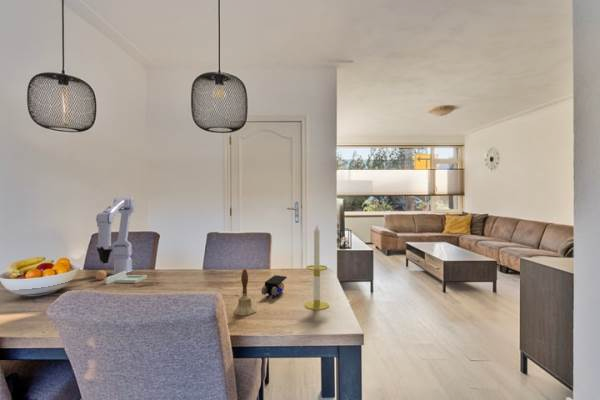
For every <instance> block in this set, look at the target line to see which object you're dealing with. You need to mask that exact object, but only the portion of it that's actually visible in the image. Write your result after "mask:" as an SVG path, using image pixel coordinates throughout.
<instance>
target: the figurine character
mask: <svg viewBox="0 0 600 400" xmlns="http://www.w3.org/2000/svg"><path fill="white" fill-rule="evenodd" d="M286 279H287V276H284V275H272V276H271V277H270V278H269V279H267V280H266V281H265V282H264V286H262V288H261V295H263V296H264V295H267V296H266V297H265V299H269V298H270V297H271V298H272V300H274V299H275V298H276V297H277V296H278V295H279V294H281V293H283V291H284V290H285V284H284V283H283V282H284V281H285V280H286Z"/></svg>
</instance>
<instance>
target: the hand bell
mask: <svg viewBox="0 0 600 400" xmlns="http://www.w3.org/2000/svg"><path fill="white" fill-rule="evenodd" d="M240 278H241V284H242V285H241V286H242V295H241V296H240V297H239V298H238V302H237V307H236V308H235V309H234V310H233V314H234V315H236V316H244V317H245V316H251V315H253V314H255V313H256V312H257V310H256V308H255V307H254V306H253V304H252V298H251V296H249V295H248V282H249V275H248V271H247V269H245V268H244V269H242V273H241V277H240Z"/></svg>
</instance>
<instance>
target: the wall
mask: <svg viewBox="0 0 600 400" xmlns="http://www.w3.org/2000/svg"><path fill="white" fill-rule="evenodd" d="M125 276H127V273H126V271H123V272H120V273H118V274H111V275H109V276H108V277H107V276H106V277H105V278H104V283H105V285H108V284H110V283H113V282H116V280H117V279H119V278H122V277H125Z"/></svg>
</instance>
